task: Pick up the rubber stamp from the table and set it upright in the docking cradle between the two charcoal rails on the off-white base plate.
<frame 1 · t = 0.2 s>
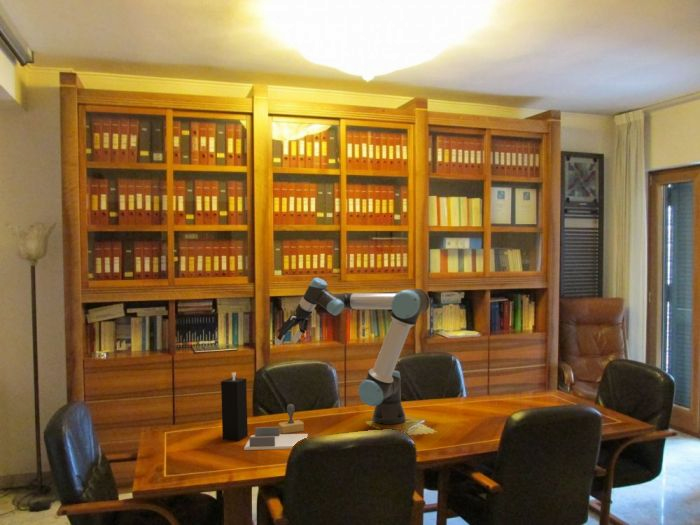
hand: (285, 343, 265), 36 cm above the table, tool tilted 35°, fingers open, 13 cm apart
black square column: (235, 438, 233), on the table
docking plate: (277, 442, 225), on the table
rubber stamp: (291, 431, 241), on the table
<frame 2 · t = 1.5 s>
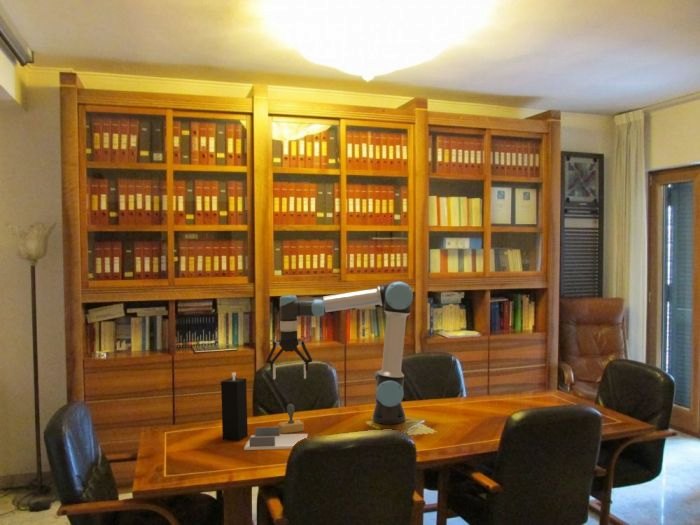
hand: (289, 378, 241), 23 cm above the table, tool pointing down, fingers open, 13 cm apart
nothing on the table moved.
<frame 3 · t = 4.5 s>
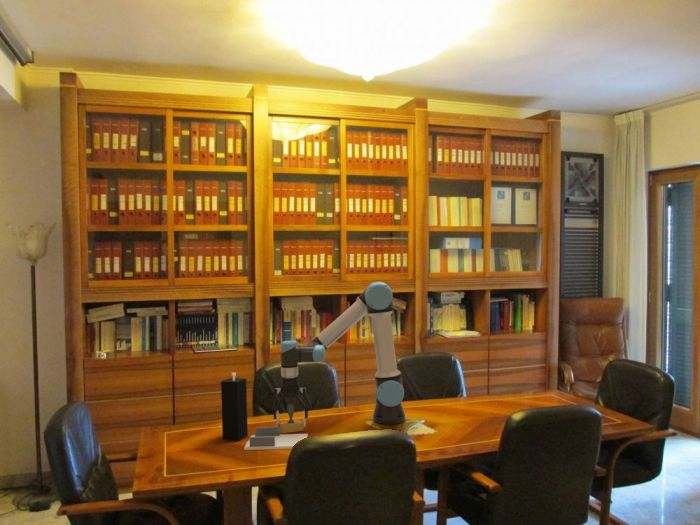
hand: (291, 426, 241), 2 cm above the table, tool pointing down, fingers closed on rubber stamp, 11 cm apart
rubber stamp: (291, 431, 241), on the table, touching gripper
everything else where it was.
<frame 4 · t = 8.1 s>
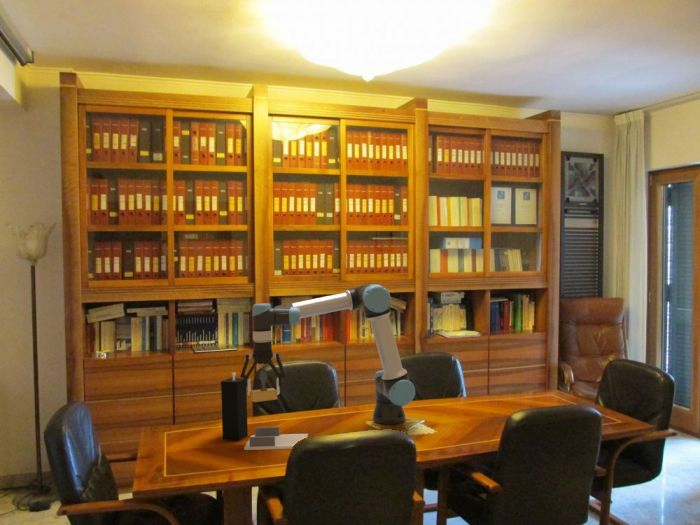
hand: (263, 394, 225), 20 cm above the table, tool pointing down, fingers closed on rubber stamp, 11 cm apart
rubber stamp: (264, 399, 225), point 18 cm above the table, touching gripper
everything else where it was.
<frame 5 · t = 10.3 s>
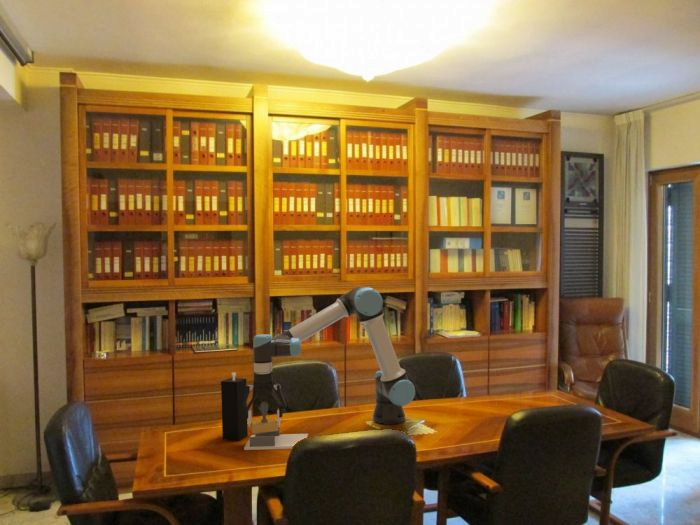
hand: (264, 425, 225), 7 cm above the table, tool pointing down, fingers closed on rubber stamp, 11 cm apart
rubber stamp: (264, 431, 225), point 5 cm above the table, touching gripper
everything else where it was.
when the fingers open (5 cm above the table, at t = 11.9 s): rubber stamp drops 2 cm, resting on docking plate.
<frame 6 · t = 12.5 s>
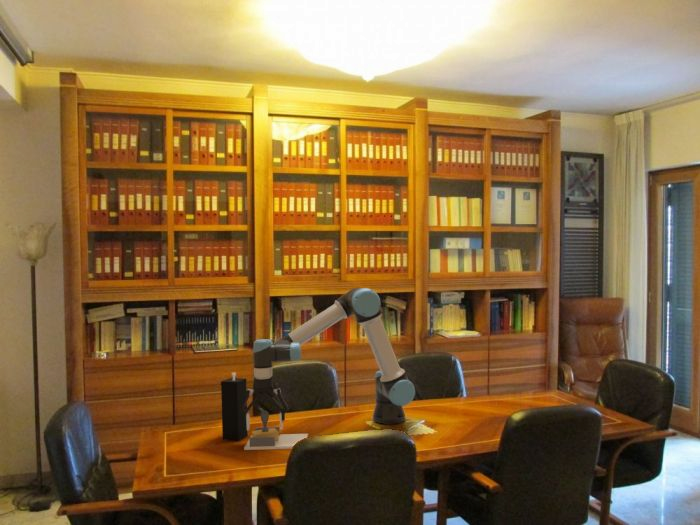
hand: (264, 429, 225), 6 cm above the table, tool pointing down, fingers open, 13 cm apart
rubber stamp: (265, 440, 225), point 1 cm above the table, touching docking plate
everything else where it was.
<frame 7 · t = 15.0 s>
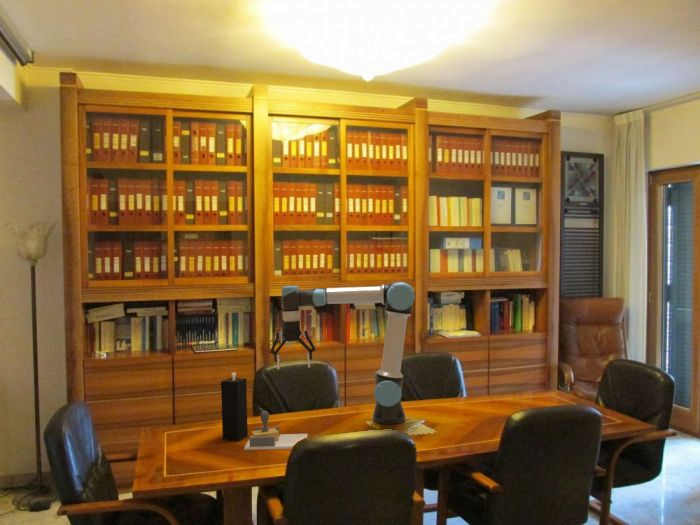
hand: (293, 368, 244), 27 cm above the table, tool pointing down, fingers open, 13 cm apart
nothing on the table moved.
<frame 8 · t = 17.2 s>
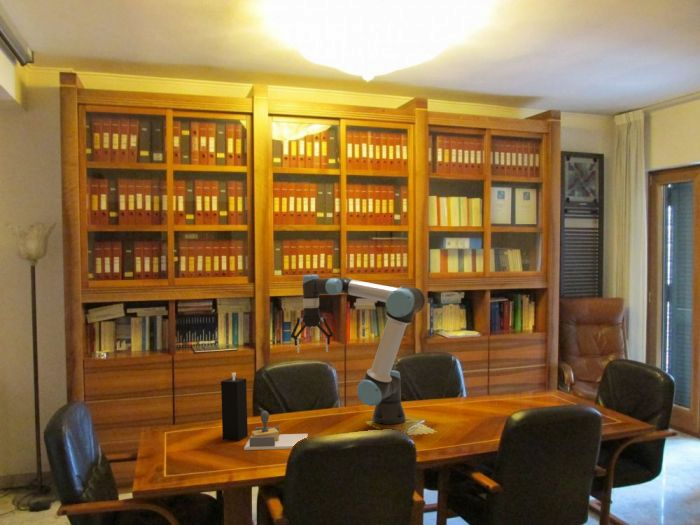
hand: (312, 352, 259), 32 cm above the table, tool pointing down, fingers open, 13 cm apart
nothing on the table moved.
at the end: rubber stamp 0.1 cm from the target spot on the docking plate, point 1.0 cm above the docking plate's base; rubber stamp tilted 0°; the gripper is holding nothing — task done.
